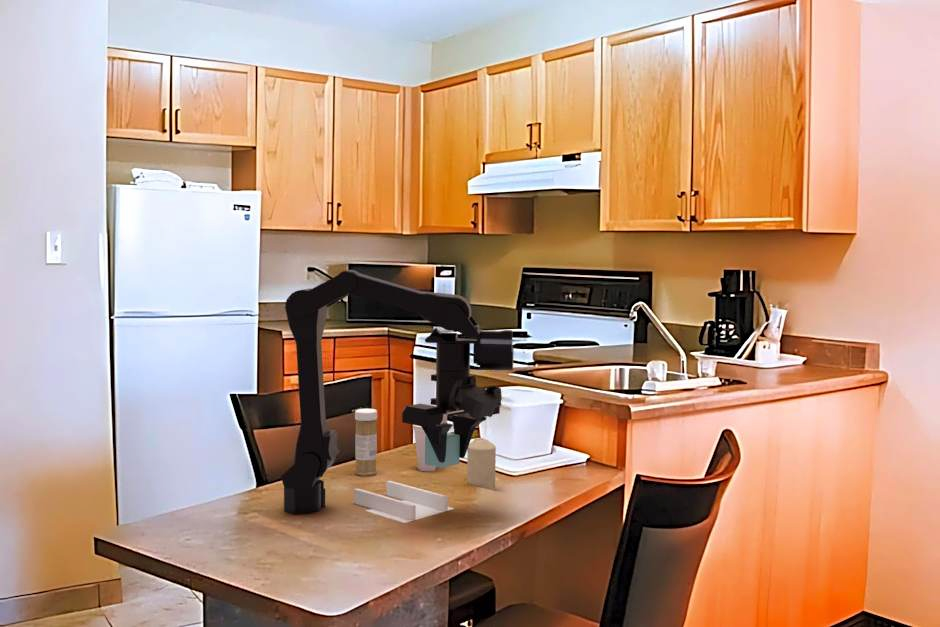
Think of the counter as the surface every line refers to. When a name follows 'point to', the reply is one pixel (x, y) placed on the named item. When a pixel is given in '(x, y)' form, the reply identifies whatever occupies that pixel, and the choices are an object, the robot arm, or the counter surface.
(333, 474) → the counter surface
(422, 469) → the smoothie
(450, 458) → the block
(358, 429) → the sprinkles bottle
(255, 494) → the counter surface
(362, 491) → the trough
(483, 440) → the tan upright block
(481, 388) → the robot arm
